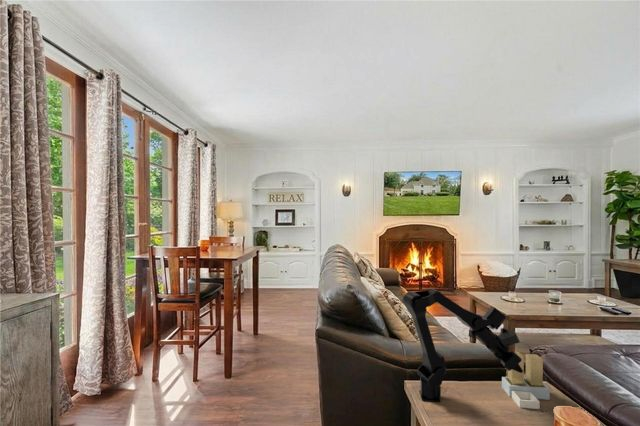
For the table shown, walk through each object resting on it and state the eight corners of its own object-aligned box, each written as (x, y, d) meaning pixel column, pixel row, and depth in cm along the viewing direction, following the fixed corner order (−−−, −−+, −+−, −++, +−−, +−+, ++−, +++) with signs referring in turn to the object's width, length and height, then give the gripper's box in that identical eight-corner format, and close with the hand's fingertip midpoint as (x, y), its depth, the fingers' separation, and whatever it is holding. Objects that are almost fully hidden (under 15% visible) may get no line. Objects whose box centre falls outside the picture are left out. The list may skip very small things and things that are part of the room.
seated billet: (531, 392, 121) (530, 358, 121) (525, 386, 124) (525, 353, 125) (543, 393, 120) (543, 359, 120) (537, 387, 124) (537, 354, 124)
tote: (519, 407, 114) (519, 400, 114) (511, 397, 120) (511, 390, 120) (539, 409, 113) (539, 401, 113) (530, 398, 119) (530, 391, 119)
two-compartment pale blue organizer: (509, 396, 120) (509, 385, 120) (501, 387, 127) (501, 376, 127) (549, 399, 118) (549, 388, 118) (539, 389, 125) (539, 379, 125)
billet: (512, 389, 121) (512, 355, 122) (507, 383, 125) (507, 351, 125) (524, 390, 121) (524, 356, 121) (519, 384, 125) (519, 351, 125)
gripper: (515, 332, 115) (549, 366, 113) (494, 316, 133) (523, 345, 131) (491, 353, 116) (525, 387, 114) (474, 334, 134) (502, 363, 132)
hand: (519, 369), depth 123 cm, fingers closed on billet, 4 cm apart
